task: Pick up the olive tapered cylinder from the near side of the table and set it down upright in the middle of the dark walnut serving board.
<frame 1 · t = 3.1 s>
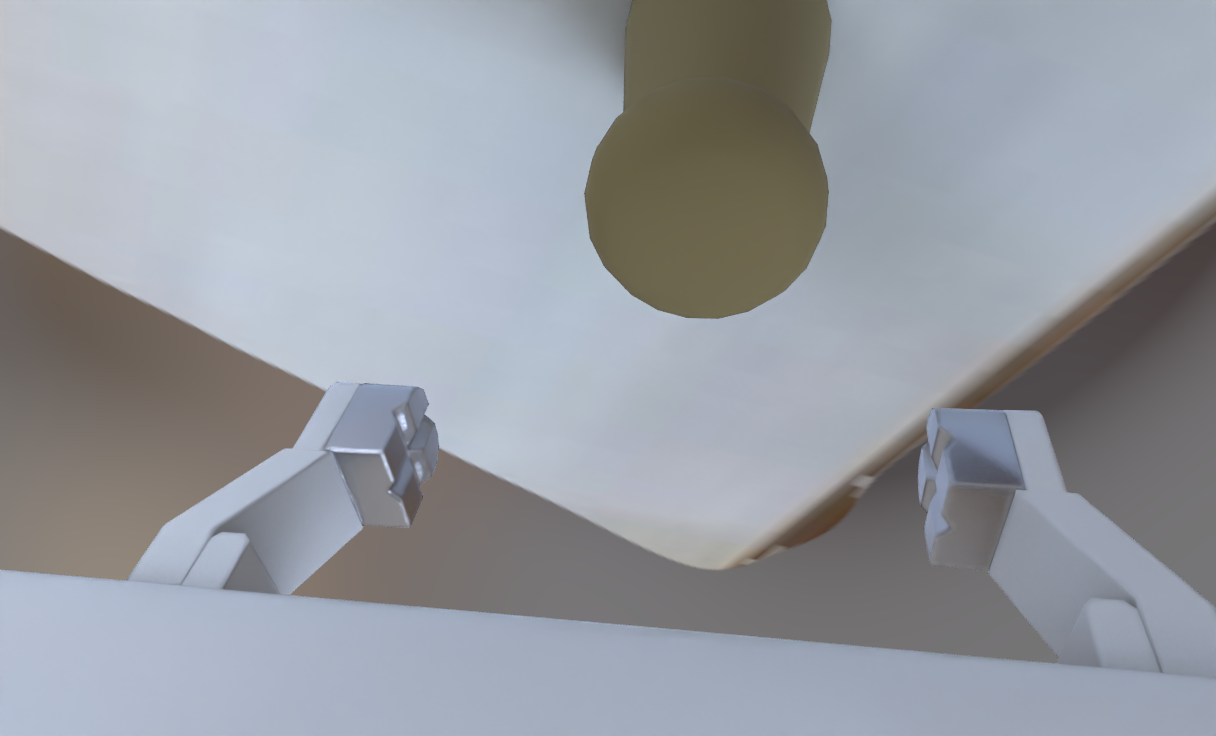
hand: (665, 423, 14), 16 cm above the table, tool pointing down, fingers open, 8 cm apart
olive tapered cylinder: (726, 38, 26), on the table
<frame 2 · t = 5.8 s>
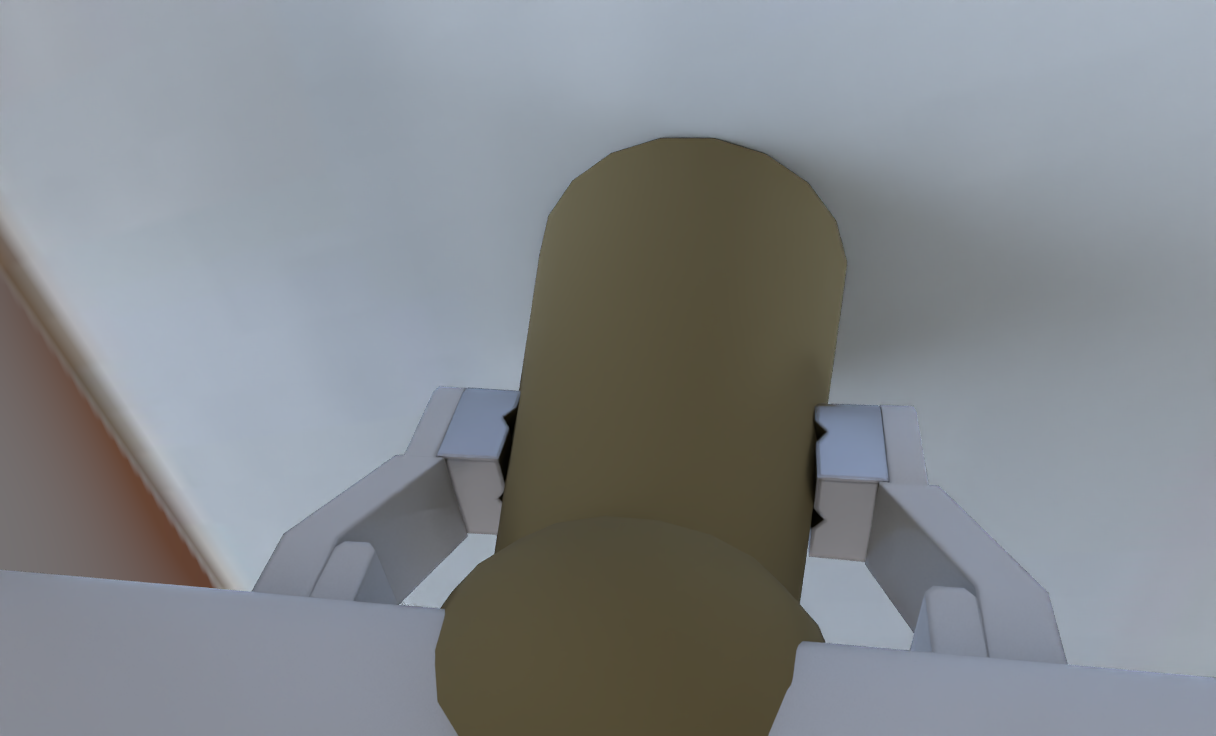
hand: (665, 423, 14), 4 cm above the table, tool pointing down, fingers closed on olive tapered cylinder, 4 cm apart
olive tapered cylinder: (689, 272, 17), on the table, touching gripper
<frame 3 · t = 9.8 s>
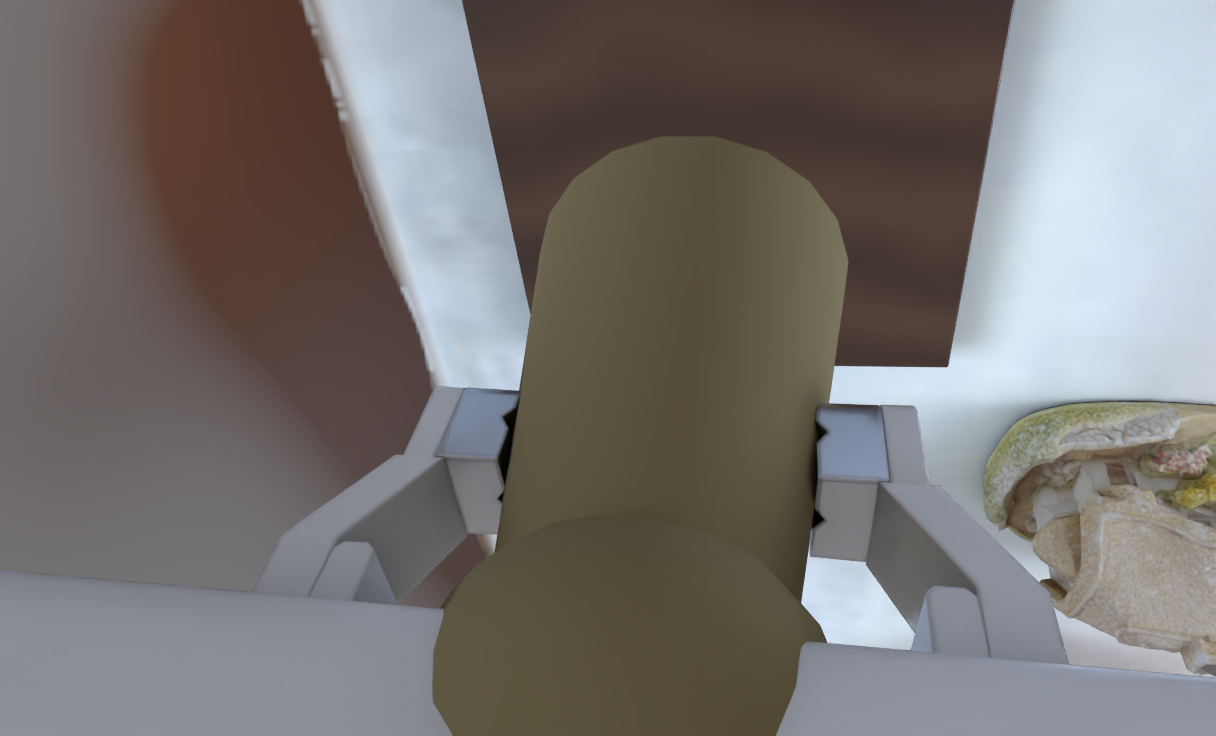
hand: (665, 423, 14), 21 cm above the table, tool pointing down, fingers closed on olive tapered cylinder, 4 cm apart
olive tapered cylinder: (690, 271, 17), point 17 cm above the table, touching gripper
walnut board: (731, 116, 32), on the table
ceramic model: (1131, 477, 41), on the table
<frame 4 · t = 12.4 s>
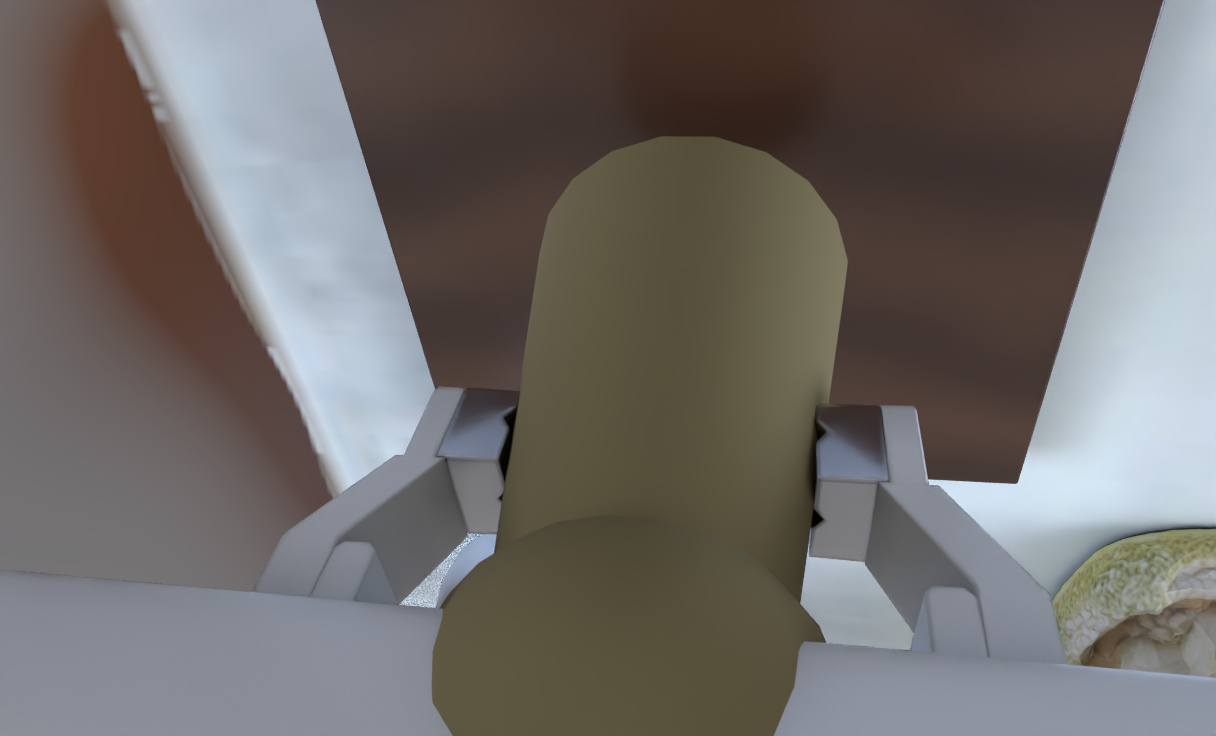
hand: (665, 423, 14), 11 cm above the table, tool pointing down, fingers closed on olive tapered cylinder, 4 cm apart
olive tapered cylinder: (690, 271, 17), point 6 cm above the table, touching gripper
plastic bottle: (536, 555, 35), on the table
walnut board: (715, 126, 22), on the table
when the fingers open (6 cm above the table, at t = 14.0 s): olive tapered cylinder stays where it is, resting on walnut board.
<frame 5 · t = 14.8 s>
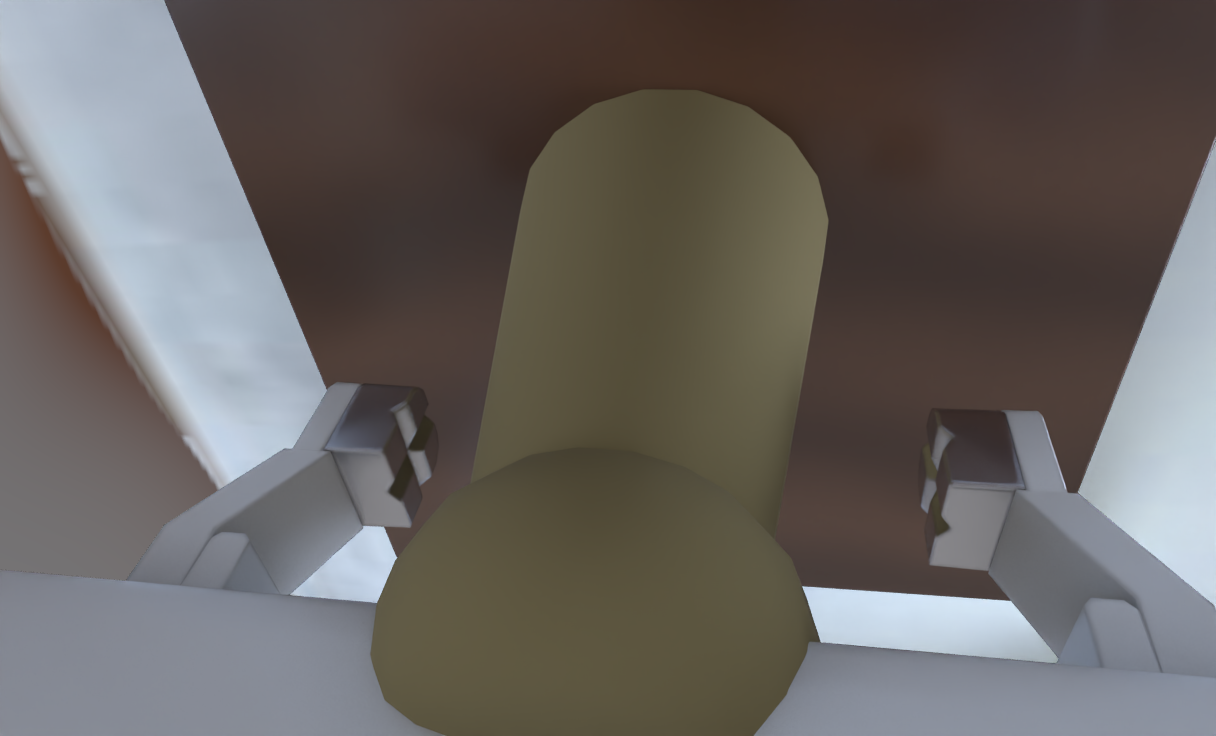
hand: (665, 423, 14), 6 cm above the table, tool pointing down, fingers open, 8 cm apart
olive tapered cylinder: (671, 230, 17), point 1 cm above the table, touching walnut board
walnut board: (685, 211, 18), on the table
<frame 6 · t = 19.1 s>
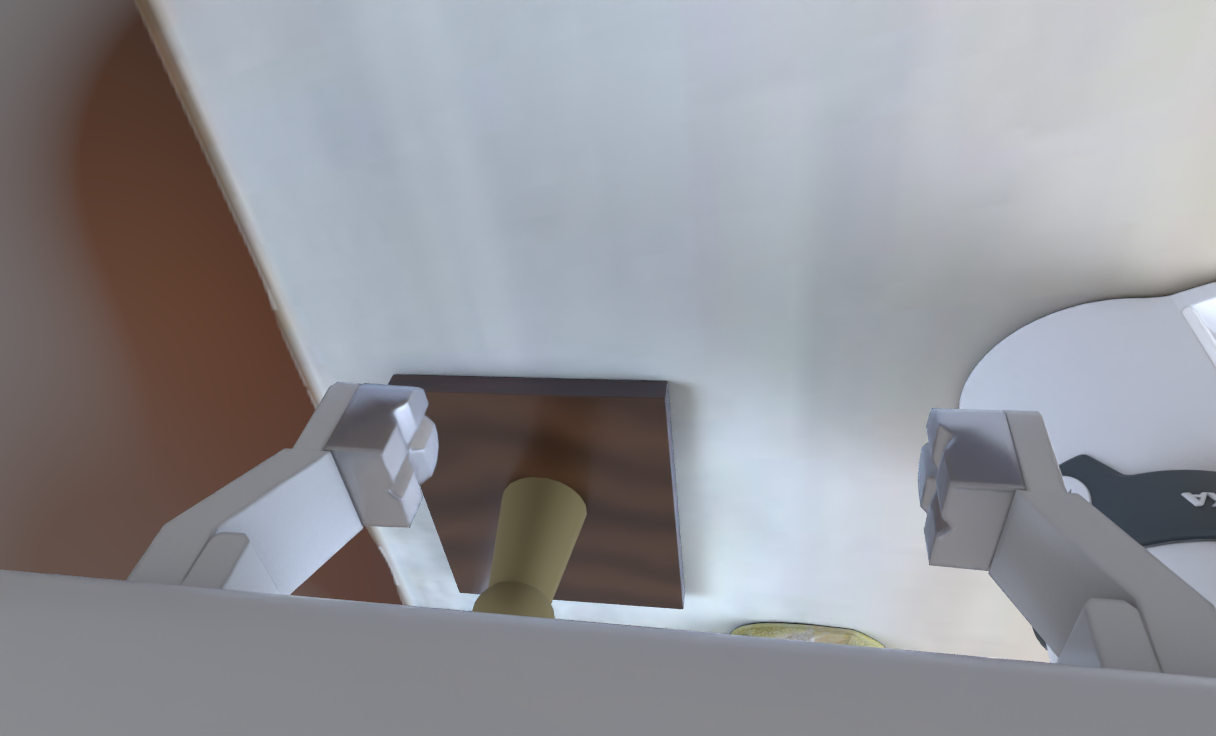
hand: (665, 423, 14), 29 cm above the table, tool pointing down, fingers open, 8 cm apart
olive tapered cylinder: (544, 504, 60), point 1 cm above the table, touching walnut board
walnut board: (551, 492, 61), on the table
ceramic model: (808, 658, 70), on the table
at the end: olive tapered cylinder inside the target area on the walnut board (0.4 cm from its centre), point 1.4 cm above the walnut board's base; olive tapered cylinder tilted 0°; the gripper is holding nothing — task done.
